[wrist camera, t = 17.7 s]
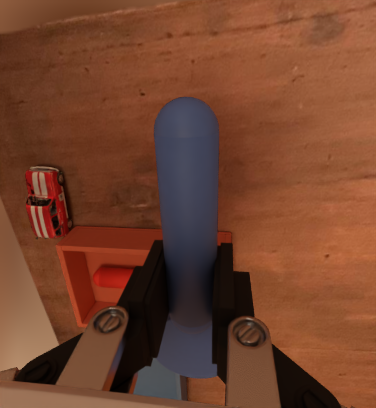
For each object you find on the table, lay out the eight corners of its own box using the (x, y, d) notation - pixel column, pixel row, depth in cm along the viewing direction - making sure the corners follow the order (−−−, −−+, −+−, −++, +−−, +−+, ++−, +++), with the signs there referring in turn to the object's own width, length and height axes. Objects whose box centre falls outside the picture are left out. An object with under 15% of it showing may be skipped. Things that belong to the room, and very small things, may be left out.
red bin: (93, 301, 34) (78, 326, 31) (75, 225, 30) (55, 245, 26) (227, 312, 32) (227, 341, 29) (231, 232, 28) (231, 254, 24)
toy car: (63, 165, 27) (44, 175, 24) (76, 233, 30) (60, 249, 27) (30, 163, 27) (7, 173, 24) (46, 230, 31) (28, 246, 28)
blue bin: (113, 398, 43) (103, 427, 40) (95, 322, 36) (80, 348, 32) (187, 408, 42) (184, 439, 38) (183, 330, 34) (178, 359, 31)
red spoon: (101, 285, 32) (92, 298, 30) (94, 255, 31) (85, 267, 29) (214, 293, 31) (213, 307, 29) (215, 261, 29) (214, 275, 27)
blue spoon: (130, 96, 10) (106, 101, 8) (252, 93, 9) (259, 96, 7) (159, 350, 16) (149, 389, 14) (235, 358, 15) (237, 400, 13)
